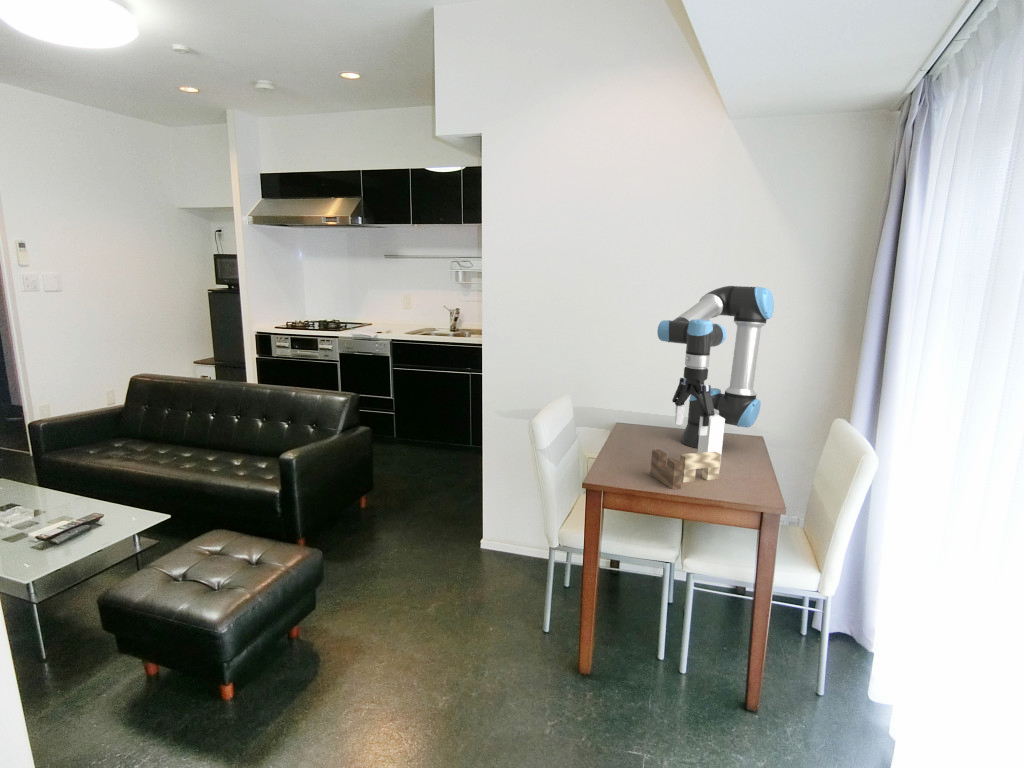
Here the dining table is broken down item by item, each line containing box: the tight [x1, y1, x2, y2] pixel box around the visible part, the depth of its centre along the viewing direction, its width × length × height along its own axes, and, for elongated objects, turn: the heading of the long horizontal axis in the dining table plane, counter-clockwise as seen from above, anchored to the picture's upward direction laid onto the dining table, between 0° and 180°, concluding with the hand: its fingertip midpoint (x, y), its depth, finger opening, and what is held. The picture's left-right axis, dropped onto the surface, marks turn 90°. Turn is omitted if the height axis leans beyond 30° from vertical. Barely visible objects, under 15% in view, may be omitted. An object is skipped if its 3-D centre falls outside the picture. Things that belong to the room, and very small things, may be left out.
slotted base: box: [649, 448, 683, 490], centre depth 198 cm, size 3×14×9 cm, turn 18°
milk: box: [696, 409, 726, 470], centre depth 212 cm, size 6×6×22 cm
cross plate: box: [679, 452, 722, 483], centre depth 200 cm, size 14×3×9 cm, turn 108°
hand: (690, 429), depth 196 cm, fingers open, 13 cm apart
